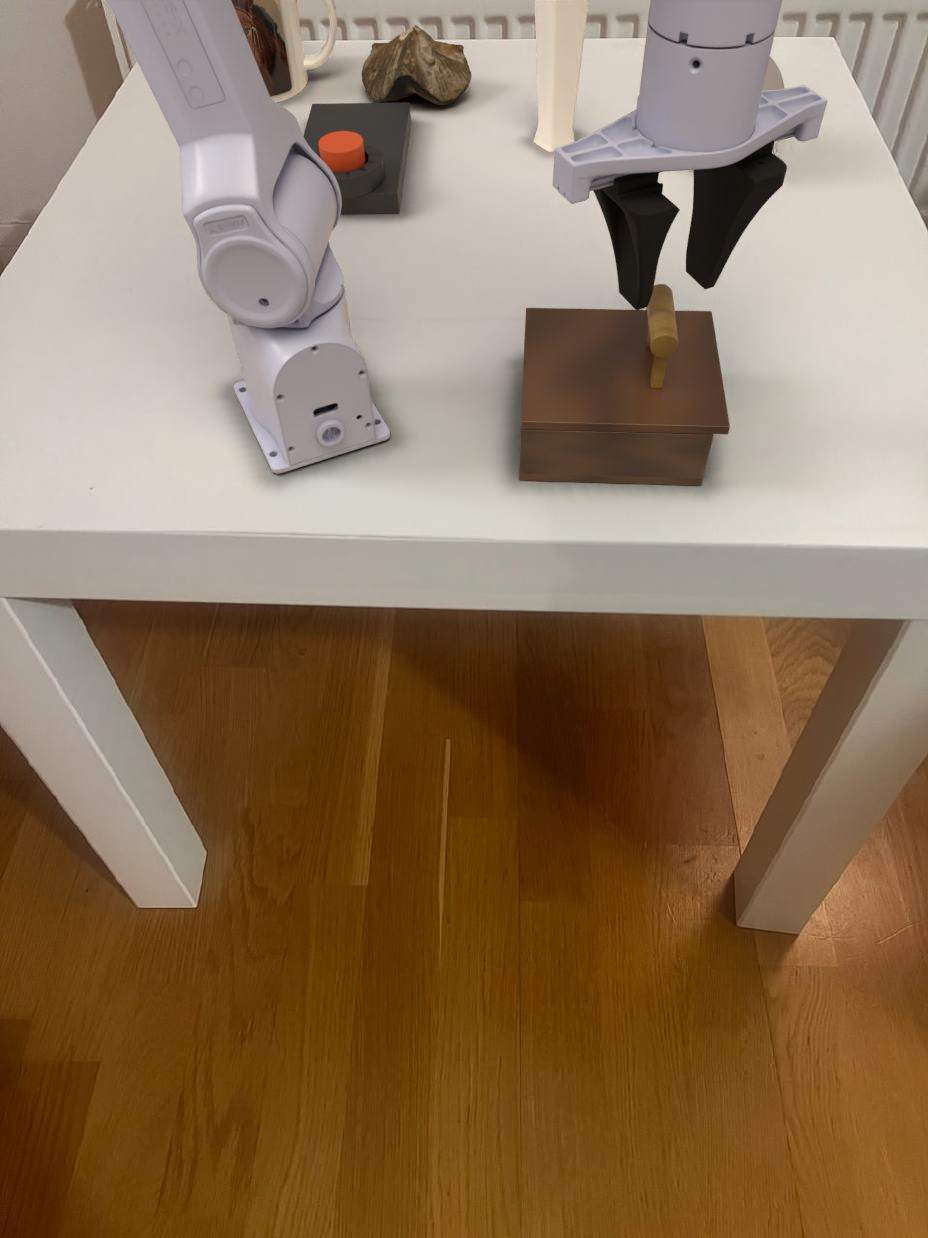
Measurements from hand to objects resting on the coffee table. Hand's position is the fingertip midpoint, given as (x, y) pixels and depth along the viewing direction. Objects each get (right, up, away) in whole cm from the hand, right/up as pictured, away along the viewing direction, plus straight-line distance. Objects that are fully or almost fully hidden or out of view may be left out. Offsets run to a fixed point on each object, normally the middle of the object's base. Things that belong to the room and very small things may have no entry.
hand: (666, 289), depth 53 cm
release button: (-21, +19, +23) cm, 37 cm away
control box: (-21, +21, +29) cm, 42 cm away
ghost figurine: (+11, +21, +29) cm, 37 cm away
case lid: (-2, -3, +5) cm, 6 cm away
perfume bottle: (-3, +24, +31) cm, 40 cm away
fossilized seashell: (-16, +31, +37) cm, 51 cm away
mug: (-31, +34, +39) cm, 60 cm away
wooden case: (-2, -6, +8) cm, 10 cm away
